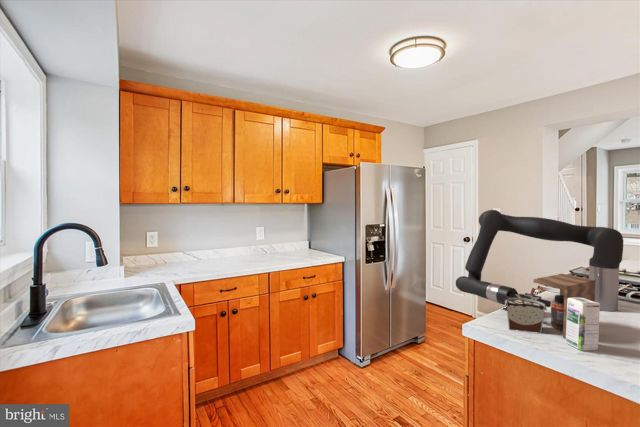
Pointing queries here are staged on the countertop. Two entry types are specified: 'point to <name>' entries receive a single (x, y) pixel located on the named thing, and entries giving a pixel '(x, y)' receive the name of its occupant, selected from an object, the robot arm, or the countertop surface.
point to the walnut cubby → (570, 289)
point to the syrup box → (582, 323)
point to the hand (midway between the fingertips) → (543, 306)
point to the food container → (525, 314)
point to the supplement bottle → (557, 312)
